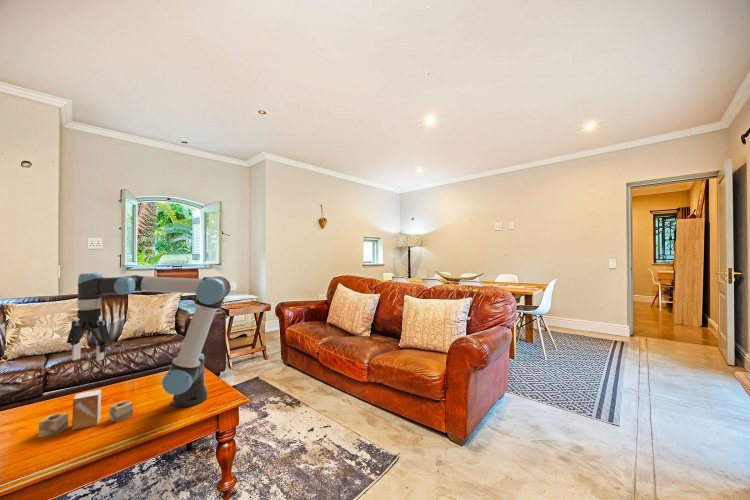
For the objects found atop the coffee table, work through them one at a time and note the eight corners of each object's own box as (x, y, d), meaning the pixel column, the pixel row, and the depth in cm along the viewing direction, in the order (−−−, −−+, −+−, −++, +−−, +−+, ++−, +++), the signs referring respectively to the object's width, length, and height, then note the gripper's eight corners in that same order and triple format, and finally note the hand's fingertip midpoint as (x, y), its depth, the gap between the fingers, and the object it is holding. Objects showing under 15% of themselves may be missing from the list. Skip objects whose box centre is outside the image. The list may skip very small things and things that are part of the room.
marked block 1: (68, 427, 128) (68, 412, 128) (56, 435, 122) (56, 419, 122) (51, 428, 127) (51, 413, 127) (38, 437, 121) (39, 421, 121)
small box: (71, 430, 125) (72, 399, 126) (75, 423, 131) (76, 393, 131) (97, 424, 130) (98, 394, 130) (100, 418, 135) (101, 389, 135)
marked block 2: (132, 416, 137) (132, 402, 137) (116, 422, 132) (117, 408, 132) (124, 413, 140) (125, 399, 140) (109, 419, 134) (109, 405, 134)
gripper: (121, 307, 134) (120, 357, 134) (74, 306, 136) (72, 356, 135) (105, 310, 127) (104, 363, 126) (55, 309, 128) (54, 361, 128)
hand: (88, 359), depth 131 cm, fingers open, 10 cm apart
